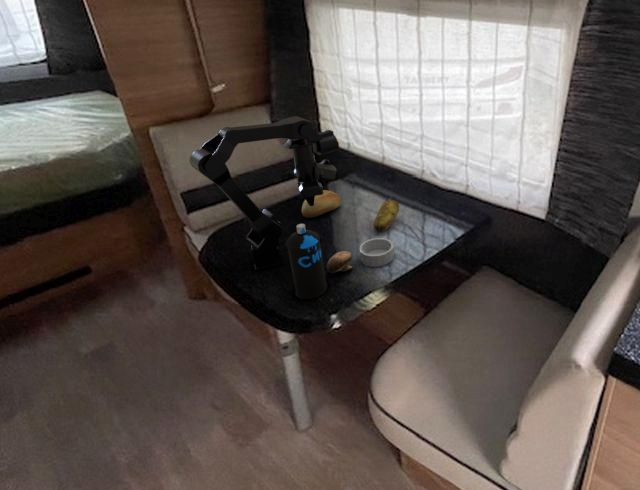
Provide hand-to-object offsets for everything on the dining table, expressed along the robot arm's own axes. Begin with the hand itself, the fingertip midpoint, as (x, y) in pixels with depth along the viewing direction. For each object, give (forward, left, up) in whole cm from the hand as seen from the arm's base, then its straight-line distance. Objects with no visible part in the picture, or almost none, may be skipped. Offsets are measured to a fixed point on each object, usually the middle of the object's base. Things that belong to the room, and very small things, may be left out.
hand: (311, 205), depth 130 cm
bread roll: (+5, +20, -13) cm, 24 cm away
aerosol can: (-5, -25, -13) cm, 29 cm away
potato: (+23, 0, -13) cm, 26 cm away
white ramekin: (+15, -18, -13) cm, 27 cm away
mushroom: (+4, -20, -13) cm, 24 cm away
